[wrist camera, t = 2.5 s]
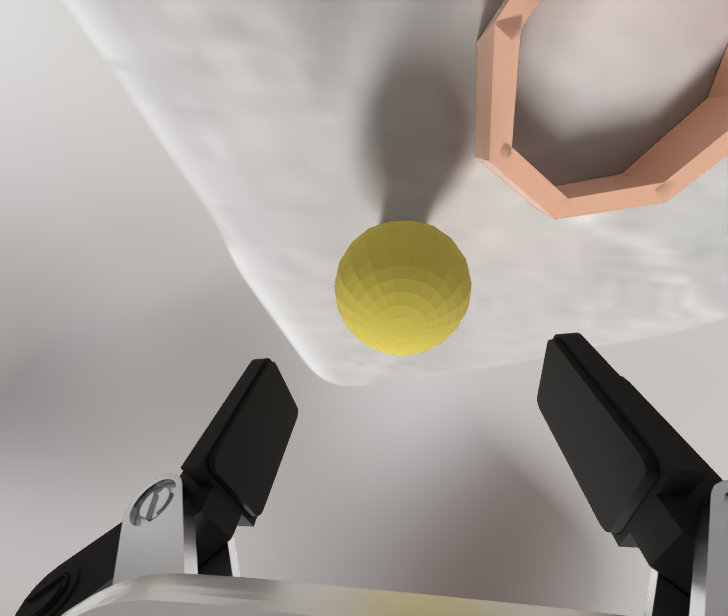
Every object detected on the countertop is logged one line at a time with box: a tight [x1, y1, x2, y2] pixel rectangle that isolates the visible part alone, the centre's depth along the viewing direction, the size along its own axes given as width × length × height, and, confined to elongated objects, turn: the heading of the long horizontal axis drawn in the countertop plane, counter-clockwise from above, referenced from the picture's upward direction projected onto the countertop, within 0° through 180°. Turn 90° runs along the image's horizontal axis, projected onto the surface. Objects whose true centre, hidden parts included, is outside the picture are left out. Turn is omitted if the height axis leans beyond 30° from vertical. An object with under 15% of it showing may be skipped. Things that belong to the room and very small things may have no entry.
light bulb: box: [335, 220, 471, 355], centre depth 15 cm, size 7×7×10 cm
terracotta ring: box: [475, 0, 728, 220], centre depth 12 cm, size 12×12×3 cm
